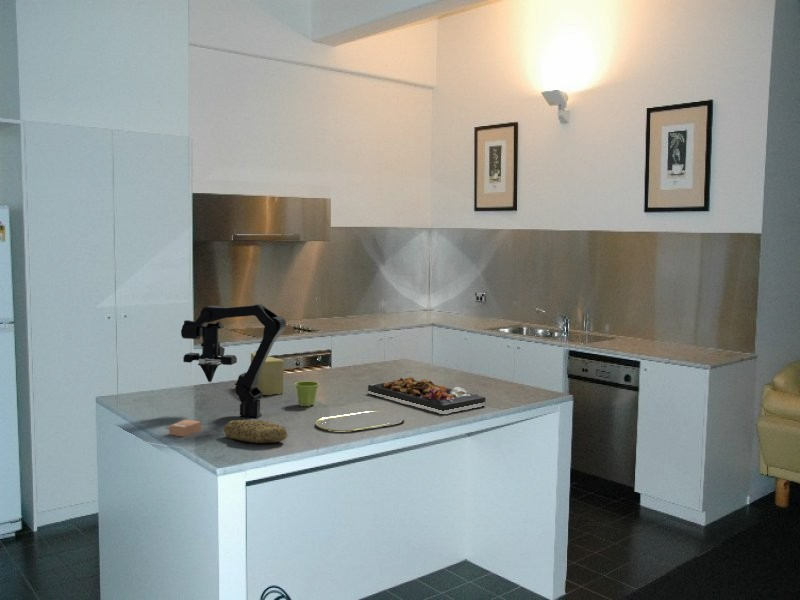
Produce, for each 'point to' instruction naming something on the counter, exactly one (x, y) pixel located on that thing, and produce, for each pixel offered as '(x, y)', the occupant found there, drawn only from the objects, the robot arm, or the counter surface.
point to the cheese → (271, 376)
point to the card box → (185, 428)
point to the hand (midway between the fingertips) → (209, 381)
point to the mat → (201, 432)
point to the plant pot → (306, 392)
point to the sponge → (255, 431)
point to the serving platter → (343, 416)
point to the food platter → (427, 393)
